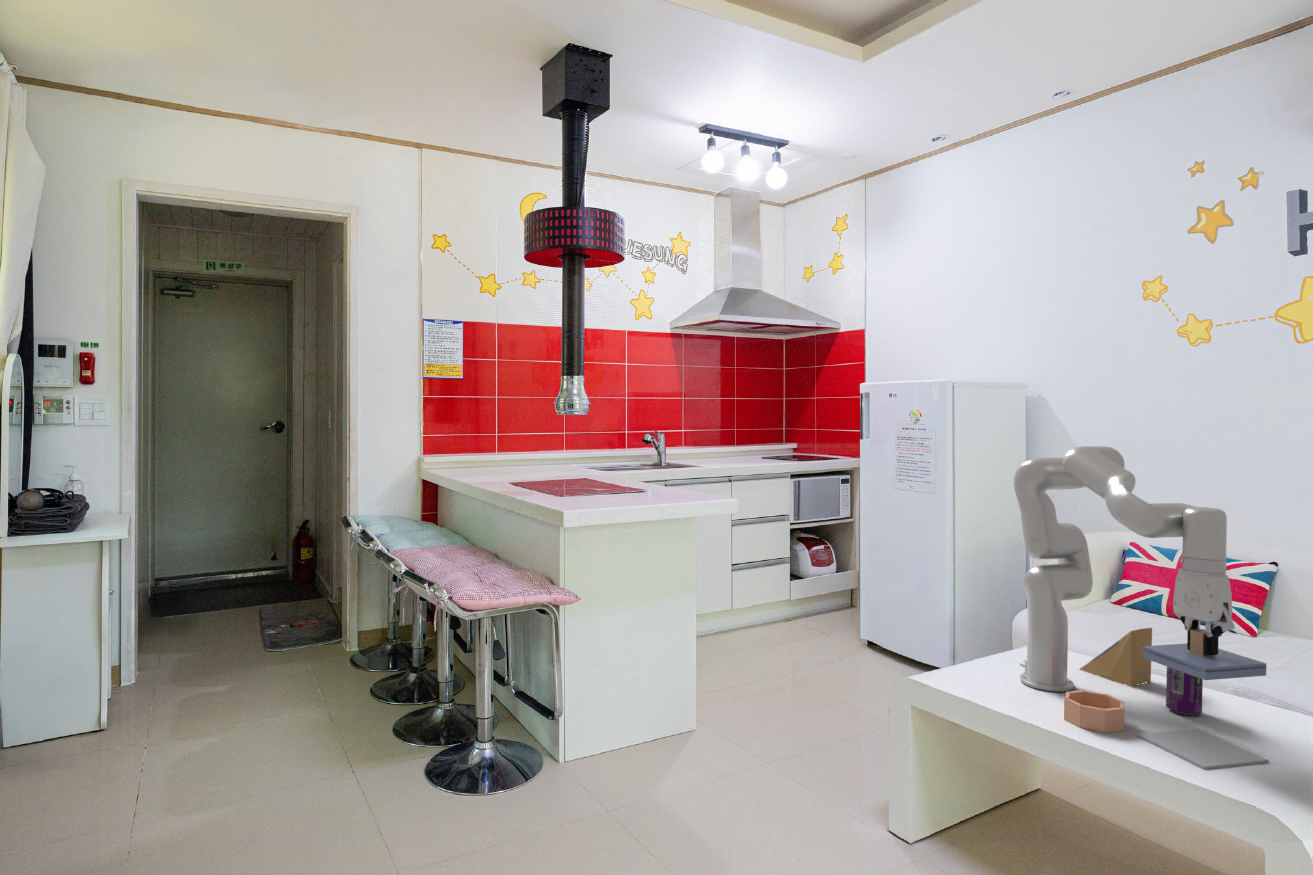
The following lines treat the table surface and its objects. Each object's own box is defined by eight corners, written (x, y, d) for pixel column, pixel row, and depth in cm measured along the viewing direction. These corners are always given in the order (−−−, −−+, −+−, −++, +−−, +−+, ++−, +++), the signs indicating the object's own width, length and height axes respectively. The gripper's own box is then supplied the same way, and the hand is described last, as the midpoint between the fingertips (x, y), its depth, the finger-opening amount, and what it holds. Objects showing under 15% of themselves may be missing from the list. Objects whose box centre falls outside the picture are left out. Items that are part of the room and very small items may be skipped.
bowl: (1053, 713, 178) (1053, 692, 178) (1096, 709, 181) (1096, 689, 180) (1091, 733, 167) (1092, 711, 166) (1137, 729, 169) (1137, 707, 169)
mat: (1137, 736, 165) (1137, 733, 165) (1197, 730, 169) (1197, 728, 169) (1203, 769, 150) (1203, 766, 150) (1268, 762, 153) (1268, 759, 153)
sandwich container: (1098, 665, 214) (1099, 613, 214) (1151, 683, 200) (1152, 627, 200) (1077, 669, 211) (1078, 616, 211) (1130, 687, 197) (1131, 630, 196)
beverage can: (1208, 718, 176) (1209, 667, 175) (1174, 716, 177) (1175, 665, 177) (1192, 707, 183) (1193, 658, 182) (1160, 704, 184) (1161, 656, 184)
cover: (1142, 657, 165) (1143, 623, 164) (1199, 653, 168) (1199, 620, 167) (1205, 680, 150) (1205, 643, 150) (1266, 675, 153) (1266, 638, 153)
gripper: (1155, 559, 166) (1154, 642, 166) (1225, 573, 150) (1224, 665, 150) (1184, 558, 167) (1183, 640, 167) (1256, 572, 151) (1254, 663, 151)
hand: (1202, 651), depth 159 cm, fingers closed on cover, 3 cm apart
